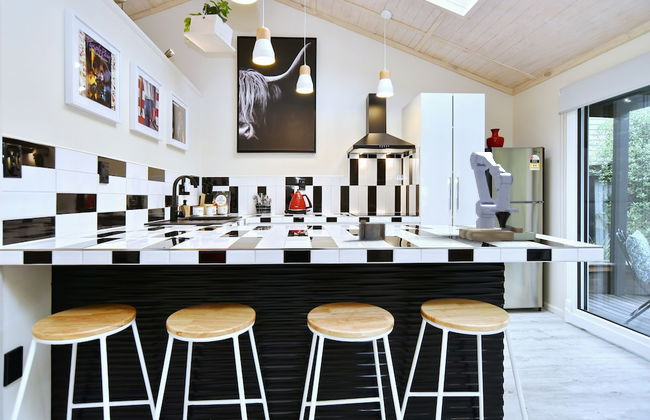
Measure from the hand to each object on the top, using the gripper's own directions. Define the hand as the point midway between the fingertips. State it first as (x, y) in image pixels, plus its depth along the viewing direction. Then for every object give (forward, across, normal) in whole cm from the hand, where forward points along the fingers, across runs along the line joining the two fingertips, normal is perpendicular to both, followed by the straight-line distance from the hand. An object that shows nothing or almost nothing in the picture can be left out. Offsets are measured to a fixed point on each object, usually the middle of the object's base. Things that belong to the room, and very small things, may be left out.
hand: (502, 227), depth 162 cm
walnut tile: (+2, +1, -7) cm, 8 cm away
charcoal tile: (+1, 0, -1) cm, 1 cm away
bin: (+5, +4, -4) cm, 7 cm away
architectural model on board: (+6, -63, -6) cm, 64 cm away
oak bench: (+5, -10, -4) cm, 12 cm away
